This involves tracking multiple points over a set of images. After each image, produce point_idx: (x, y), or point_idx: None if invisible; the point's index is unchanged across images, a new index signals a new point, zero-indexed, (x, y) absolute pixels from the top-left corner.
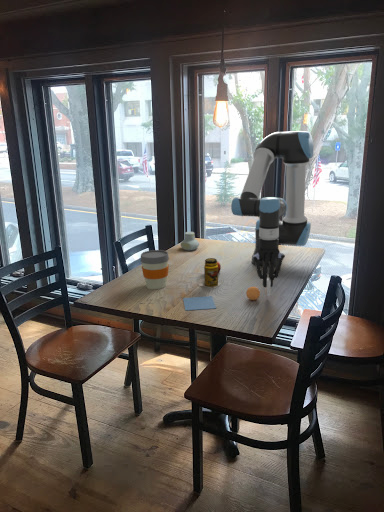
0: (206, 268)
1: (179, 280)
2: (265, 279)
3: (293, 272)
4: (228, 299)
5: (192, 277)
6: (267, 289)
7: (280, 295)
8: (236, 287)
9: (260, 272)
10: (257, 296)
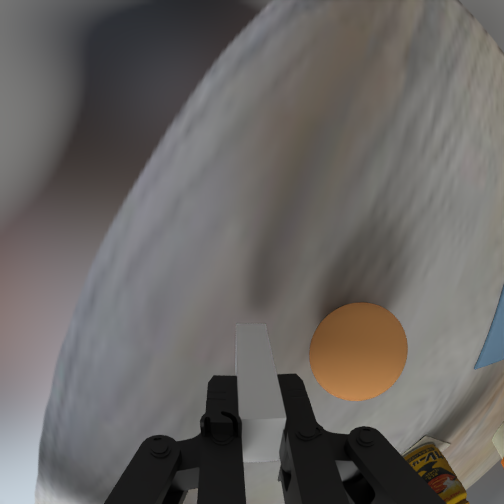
0: (465, 491)
1: (459, 461)
2: (308, 426)
3: (81, 491)
4: (444, 340)
5: None
6: (266, 352)
7: (148, 356)
8: None
9: (400, 487)
10: (345, 309)
